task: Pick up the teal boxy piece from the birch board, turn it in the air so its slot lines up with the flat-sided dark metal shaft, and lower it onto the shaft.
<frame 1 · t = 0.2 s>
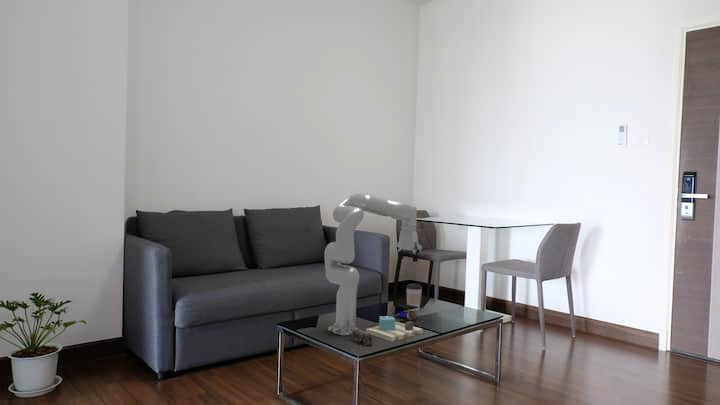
hand: (408, 260, 275), 31 cm above the table, tool pointing down, fingers open, 9 cm apart
coffee cup: (413, 310, 295), on the table
figurine character: (403, 318, 275), on the table
rhino figurine: (360, 343, 229), on the table
hub board: (409, 333, 246), on the table
teal boxy piece: (386, 328, 246), point 2 cm above the table, touching hub board
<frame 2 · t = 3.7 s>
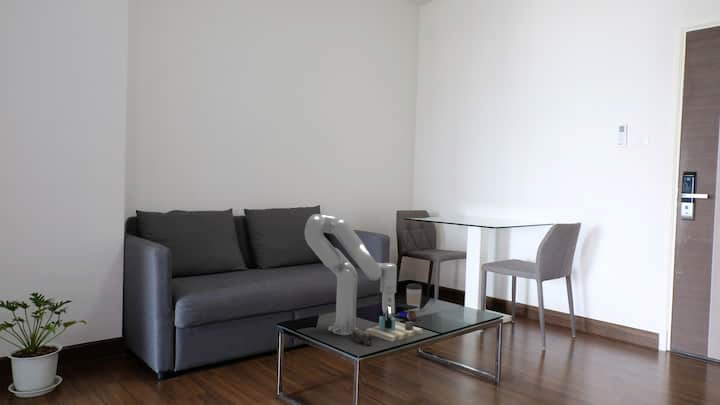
hand: (387, 325, 246), 3 cm above the table, tool pointing down, fingers closed on teal boxy piece, 6 cm apart
teal boxy piece: (386, 328, 246), point 2 cm above the table, touching gripper, hub board
everything else where it was.
when the fingers open (4 cm above the table, at t = 9.6 s): teal boxy piece stays where it is, resting on hub board.
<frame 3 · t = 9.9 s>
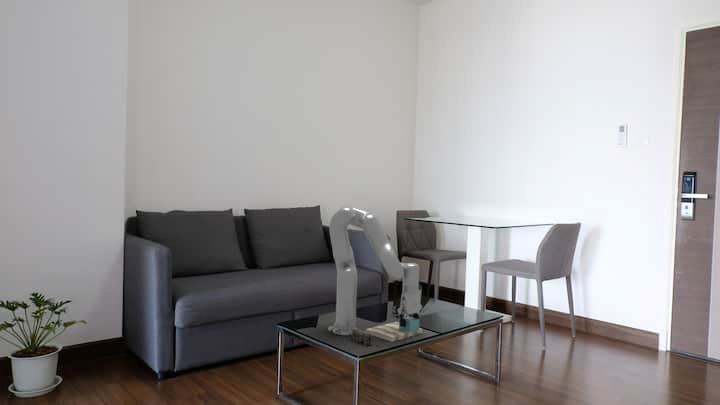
hand: (409, 324, 245), 4 cm above the table, tool pointing down, fingers open, 9 cm apart
teal boxy piece: (409, 329, 246), point 2 cm above the table, touching hub board
everything else where it was.
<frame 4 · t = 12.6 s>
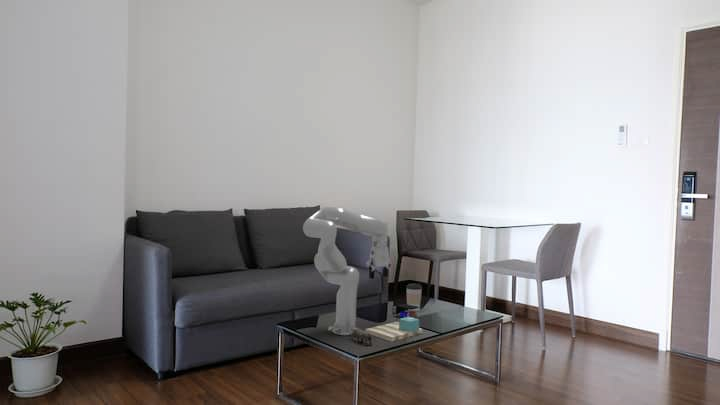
hand: (378, 277, 264), 23 cm above the table, tool pointing down, fingers open, 9 cm apart
nothing on the table moved.
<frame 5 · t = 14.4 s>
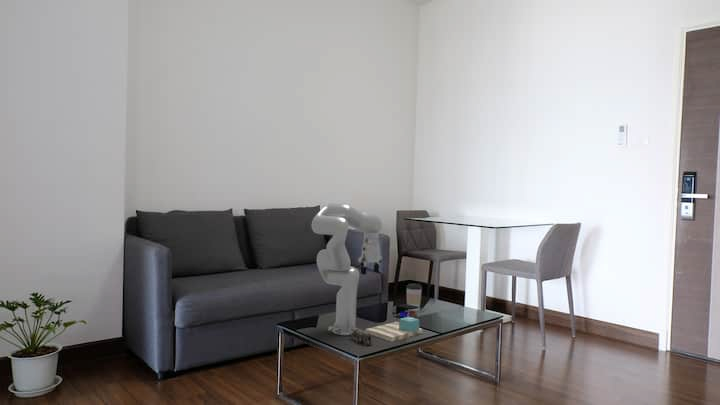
hand: (369, 273, 270), 24 cm above the table, tool pointing down, fingers open, 9 cm apart
nothing on the table moved.
at the end: teal boxy piece 0.0 cm off-centre on the hub board, point 2.0 cm above the hub board's base; teal boxy piece tilted 0°; the gripper is holding nothing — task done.
